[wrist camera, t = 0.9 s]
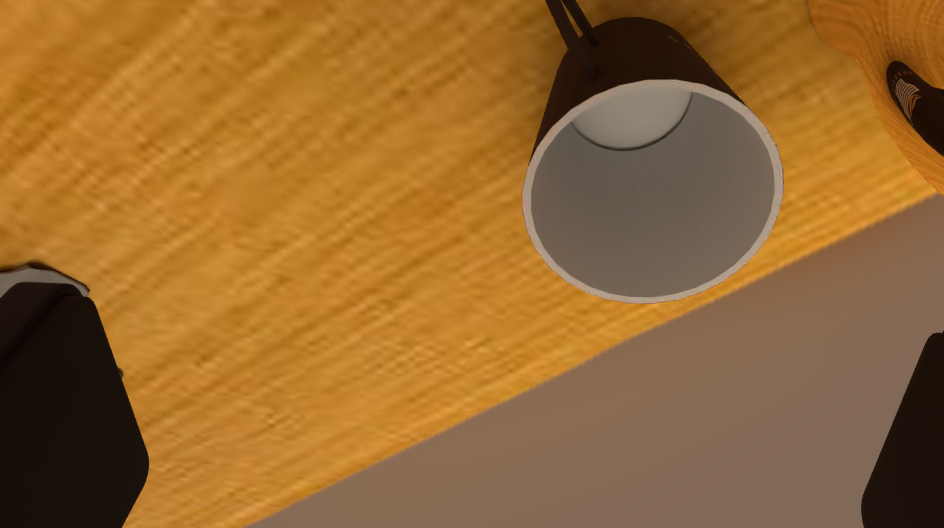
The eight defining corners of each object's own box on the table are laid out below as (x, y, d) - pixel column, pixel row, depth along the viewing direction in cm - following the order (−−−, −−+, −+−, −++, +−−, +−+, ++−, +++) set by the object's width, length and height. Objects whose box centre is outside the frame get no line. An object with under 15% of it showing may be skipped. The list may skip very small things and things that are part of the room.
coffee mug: (718, 172, 37) (767, 301, 28) (533, 179, 38) (528, 305, 29) (744, -98, 30) (817, -33, 22) (520, -81, 31) (509, -12, 23)
